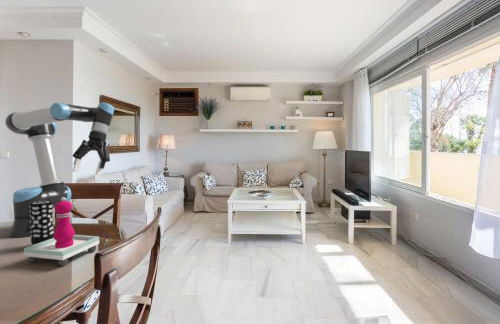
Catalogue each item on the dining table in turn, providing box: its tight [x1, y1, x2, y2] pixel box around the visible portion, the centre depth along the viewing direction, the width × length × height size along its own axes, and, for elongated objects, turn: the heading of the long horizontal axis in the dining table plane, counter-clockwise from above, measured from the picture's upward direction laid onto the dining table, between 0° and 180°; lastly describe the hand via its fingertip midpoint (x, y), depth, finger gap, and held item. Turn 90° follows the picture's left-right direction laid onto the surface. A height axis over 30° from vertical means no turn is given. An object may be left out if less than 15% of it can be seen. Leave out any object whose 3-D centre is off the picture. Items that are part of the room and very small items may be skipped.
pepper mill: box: [53, 197, 76, 248], centre depth 112 cm, size 7×7×20 cm
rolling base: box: [23, 234, 100, 267], centre depth 112 cm, size 18×18×6 cm
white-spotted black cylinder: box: [30, 201, 55, 246], centre depth 124 cm, size 8×8×20 cm
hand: (86, 173), depth 133 cm, fingers open, 13 cm apart
